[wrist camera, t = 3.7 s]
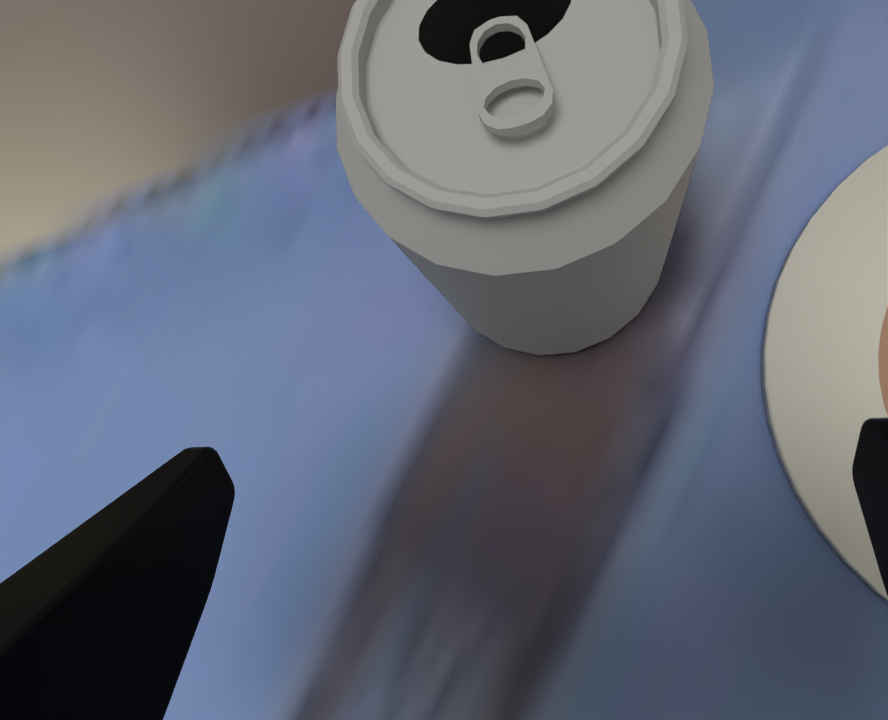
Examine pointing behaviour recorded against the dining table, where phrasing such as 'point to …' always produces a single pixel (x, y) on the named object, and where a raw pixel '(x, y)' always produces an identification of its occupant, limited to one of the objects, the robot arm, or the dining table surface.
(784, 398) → the saucer
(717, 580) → the dining table surface
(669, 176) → the can
